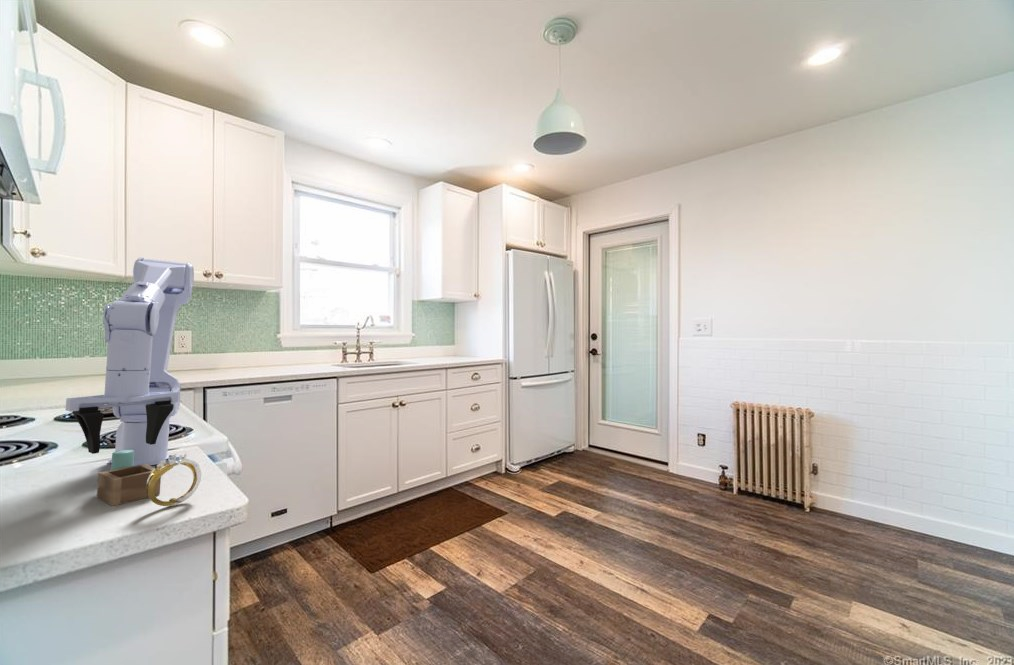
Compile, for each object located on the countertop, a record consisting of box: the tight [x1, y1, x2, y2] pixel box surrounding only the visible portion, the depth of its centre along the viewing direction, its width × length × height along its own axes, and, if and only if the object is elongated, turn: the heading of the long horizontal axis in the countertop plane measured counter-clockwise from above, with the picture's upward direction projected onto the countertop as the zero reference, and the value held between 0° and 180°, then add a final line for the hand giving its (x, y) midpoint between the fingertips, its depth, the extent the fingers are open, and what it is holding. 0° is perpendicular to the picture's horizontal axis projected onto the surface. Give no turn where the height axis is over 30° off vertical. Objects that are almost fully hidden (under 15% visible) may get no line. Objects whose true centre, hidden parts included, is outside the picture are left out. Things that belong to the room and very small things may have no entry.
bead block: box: [96, 464, 162, 507], centre depth 68 cm, size 6×6×4 cm
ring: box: [146, 453, 202, 507], centre depth 65 cm, size 7×3×8 cm, turn 147°
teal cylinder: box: [110, 450, 134, 470], centre depth 71 cm, size 3×3×6 cm
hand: (123, 447), depth 71 cm, fingers open, 7 cm apart
